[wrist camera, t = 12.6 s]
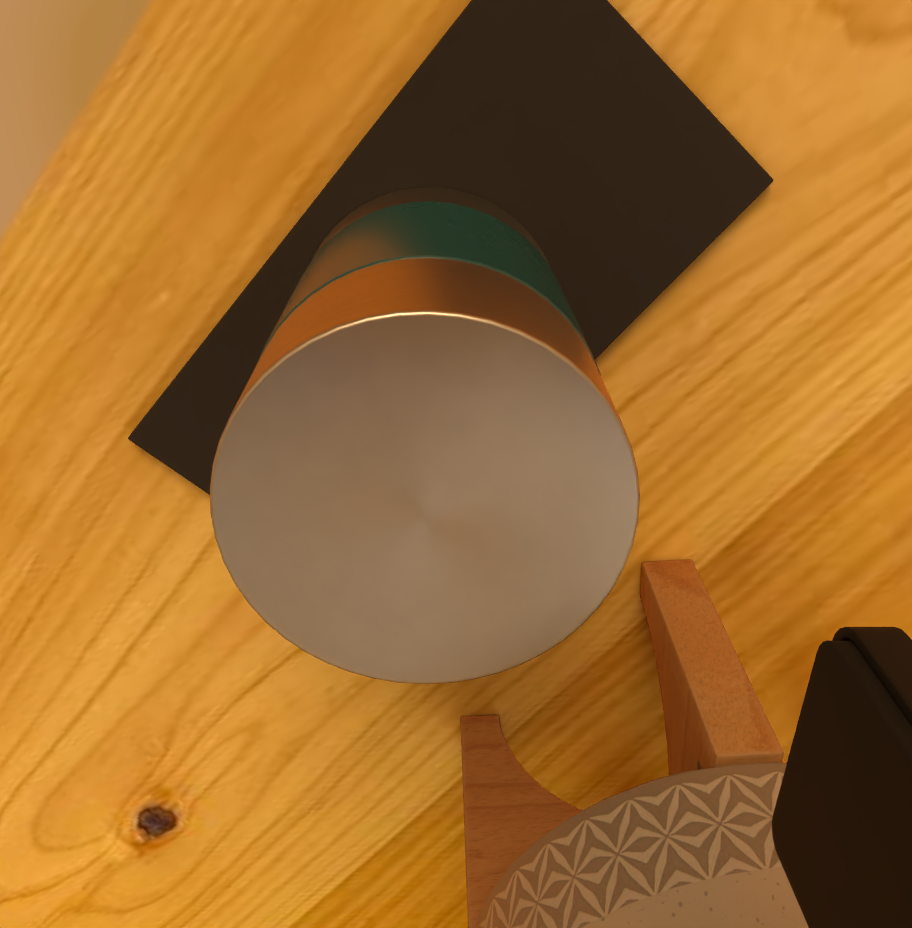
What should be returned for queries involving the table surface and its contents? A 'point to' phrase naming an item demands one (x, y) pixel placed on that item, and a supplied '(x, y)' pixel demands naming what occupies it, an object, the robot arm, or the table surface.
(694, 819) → the planter
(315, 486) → the can
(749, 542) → the table surface
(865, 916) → the robot arm
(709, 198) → the black flat rectangular slab
